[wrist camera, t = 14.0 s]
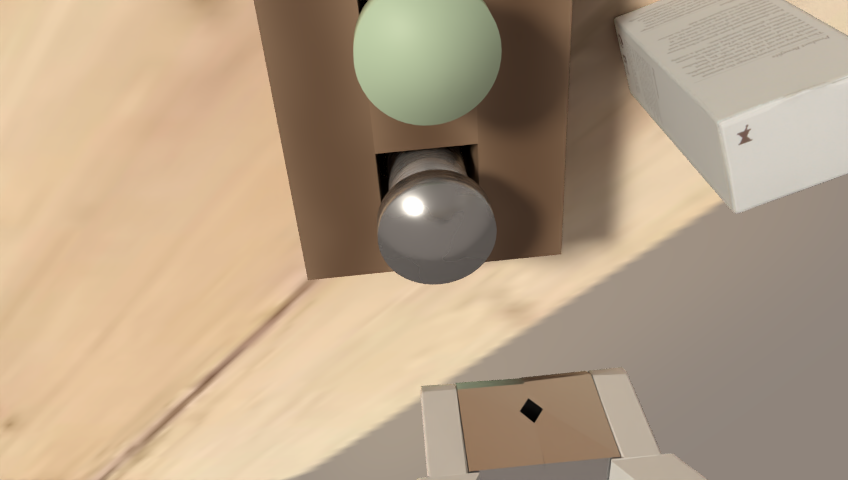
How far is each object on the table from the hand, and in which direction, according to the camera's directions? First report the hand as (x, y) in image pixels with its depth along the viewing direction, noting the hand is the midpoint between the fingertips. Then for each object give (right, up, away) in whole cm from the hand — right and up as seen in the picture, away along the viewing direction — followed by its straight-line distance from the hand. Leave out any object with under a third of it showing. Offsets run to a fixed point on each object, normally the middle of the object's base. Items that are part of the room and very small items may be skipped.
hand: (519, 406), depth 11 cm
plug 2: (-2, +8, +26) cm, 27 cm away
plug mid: (-2, +13, +20) cm, 25 cm away
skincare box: (+11, +13, +25) cm, 30 cm away
